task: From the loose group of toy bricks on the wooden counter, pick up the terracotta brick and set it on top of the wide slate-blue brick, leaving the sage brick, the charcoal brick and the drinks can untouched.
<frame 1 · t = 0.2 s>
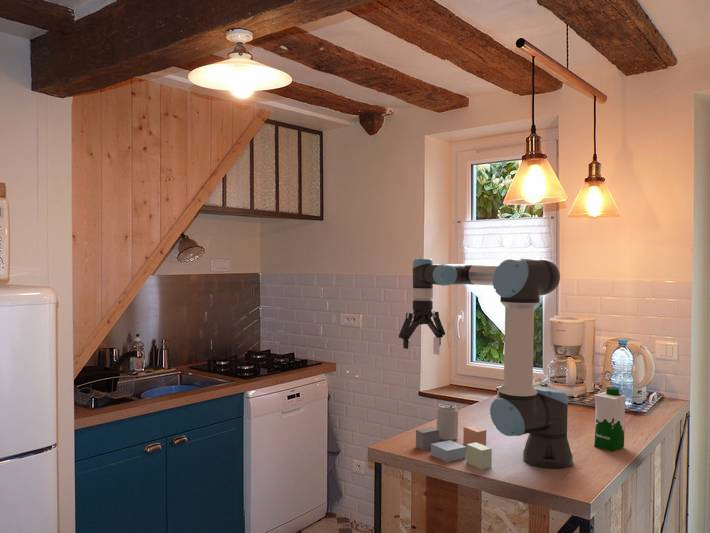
hand: (422, 355, 227), 27 cm above the counter, tool pointing down, fingers open, 13 cm apart
terracotta brick: (474, 445, 207), on the counter
can: (447, 439, 215), on the counter
charcoal brick: (427, 447, 206), on the counter
sage brick: (478, 465, 188), on the counter
milk carton: (608, 447, 206), on the counter
slate blue brick: (448, 457, 196), on the counter
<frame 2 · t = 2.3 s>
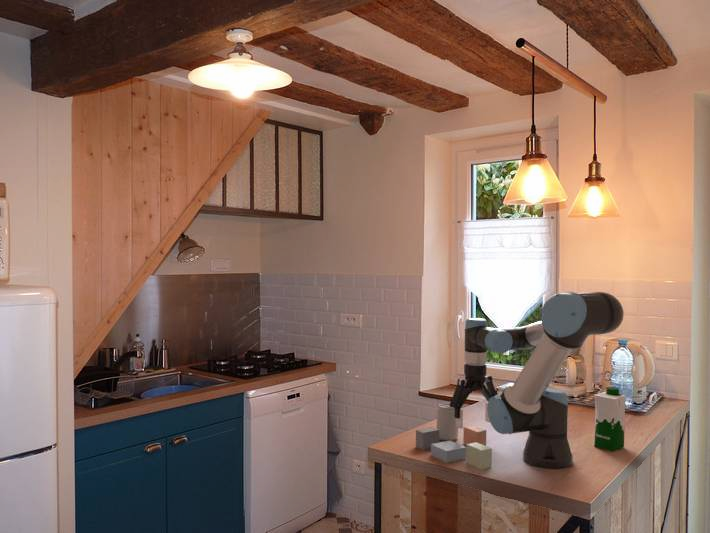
hand: (474, 424, 208), 7 cm above the counter, tool pointing down, fingers open, 13 cm apart
nothing on the counter moved.
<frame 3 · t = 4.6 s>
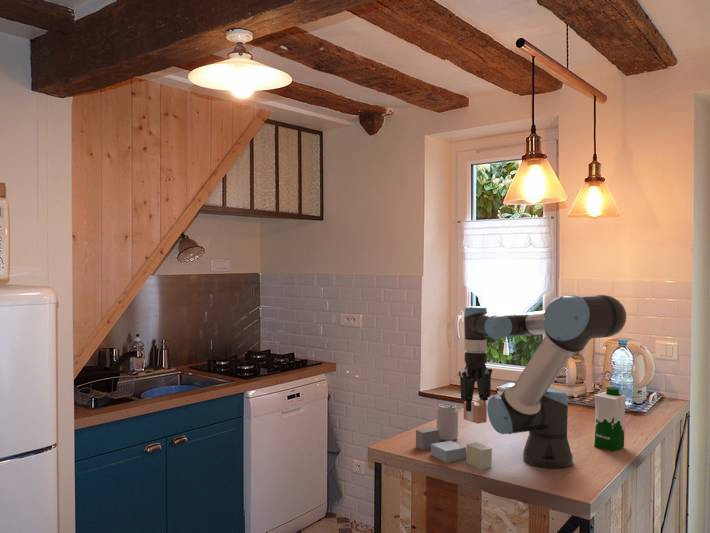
hand: (475, 419, 207), 9 cm above the counter, tool pointing down, fingers closed on terracotta brick, 4 cm apart
terracotta brick: (475, 420, 207), point 9 cm above the counter, touching gripper
everything else where it was.
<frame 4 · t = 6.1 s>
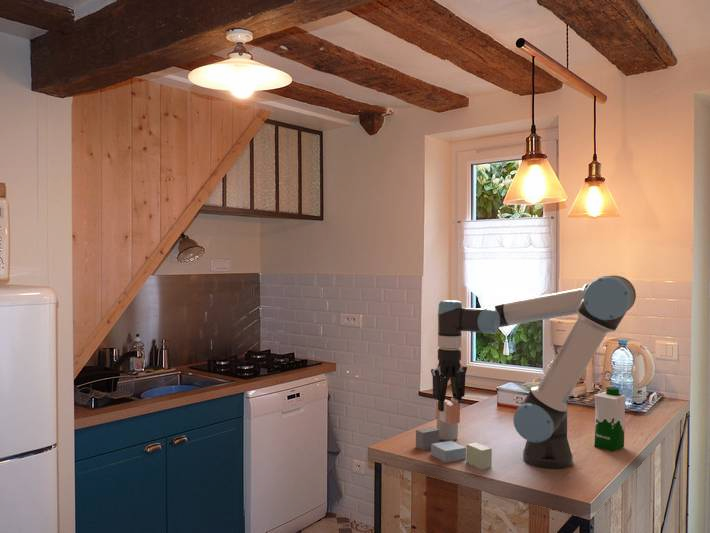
hand: (448, 419, 196), 12 cm above the counter, tool pointing down, fingers closed on terracotta brick, 4 cm apart
terracotta brick: (447, 420, 196), point 12 cm above the counter, touching gripper
everything else where it was.
when the fingers open (5 cm above the counter, at t = 7.8 s): terracotta brick stays where it is, resting on slate blue brick.
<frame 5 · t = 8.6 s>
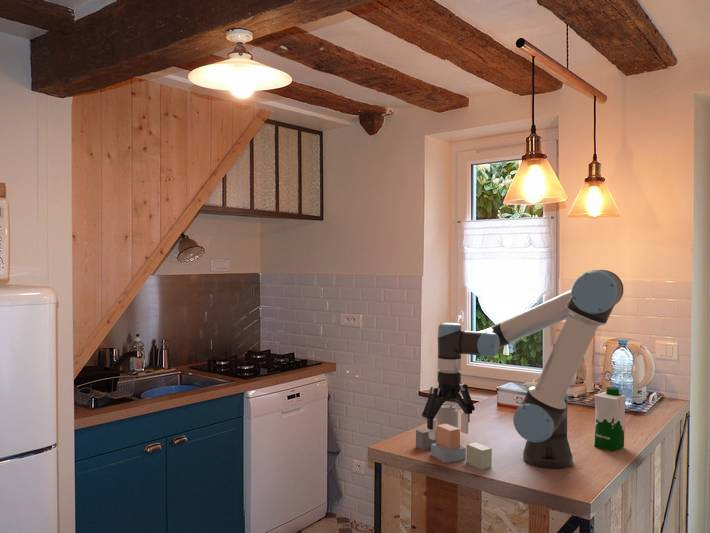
hand: (448, 435, 196), 7 cm above the counter, tool pointing down, fingers open, 13 cm apart
terracotta brick: (447, 445, 196), point 4 cm above the counter, touching slate blue brick
slate blue brick: (448, 458, 195), on the counter, touching terracotta brick
everything else where it was.
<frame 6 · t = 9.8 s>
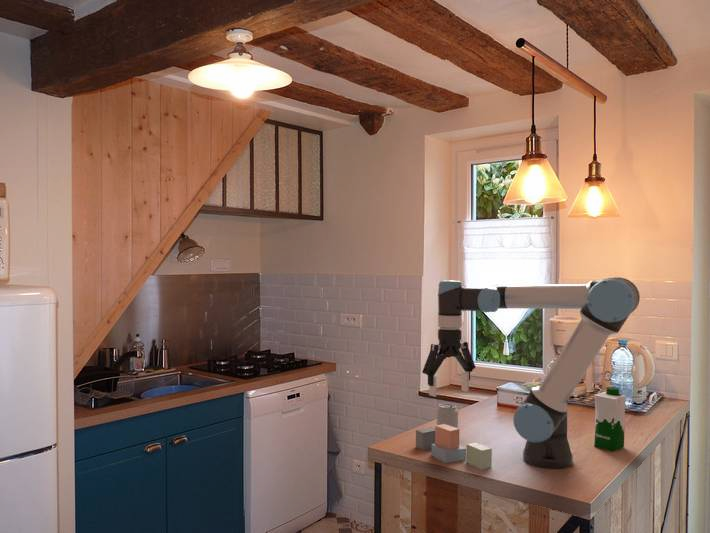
hand: (449, 393, 196), 21 cm above the counter, tool pointing down, fingers open, 13 cm apart
terracotta brick: (447, 445, 195), point 4 cm above the counter
slate blue brick: (448, 458, 195), on the counter
everything else where it was.
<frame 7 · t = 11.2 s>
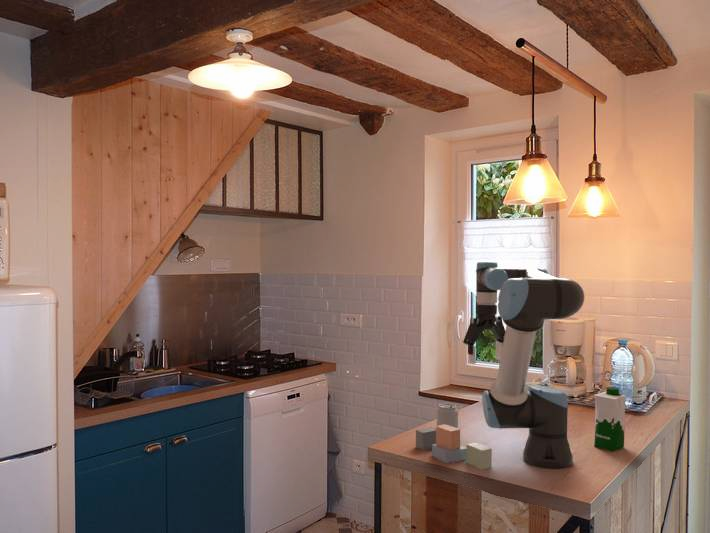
hand: (485, 361, 220), 27 cm above the counter, tool pointing down, fingers open, 13 cm apart
terracotta brick: (448, 446, 195), point 4 cm above the counter, touching slate blue brick
slate blue brick: (449, 458, 195), on the counter, touching terracotta brick
everything else where it was.
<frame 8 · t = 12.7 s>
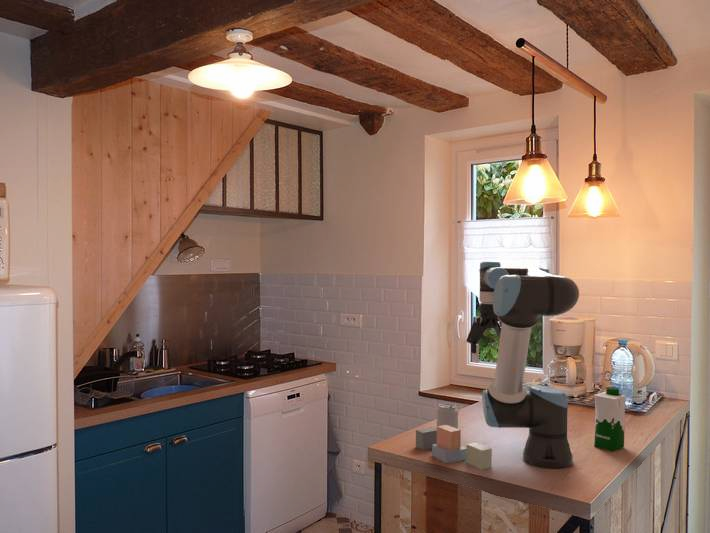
hand: (489, 360, 222), 27 cm above the counter, tool pointing down, fingers open, 13 cm apart
nothing on the counter moved.
at the end: terracotta brick inside the target area on the slate blue brick (0.3 cm from its centre), point 4.0 cm above the slate blue brick's base; sage brick moved 0.1 cm from its start; charcoal brick moved 0.1 cm from its start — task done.
